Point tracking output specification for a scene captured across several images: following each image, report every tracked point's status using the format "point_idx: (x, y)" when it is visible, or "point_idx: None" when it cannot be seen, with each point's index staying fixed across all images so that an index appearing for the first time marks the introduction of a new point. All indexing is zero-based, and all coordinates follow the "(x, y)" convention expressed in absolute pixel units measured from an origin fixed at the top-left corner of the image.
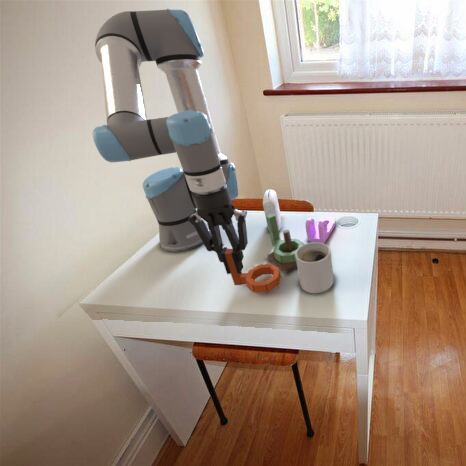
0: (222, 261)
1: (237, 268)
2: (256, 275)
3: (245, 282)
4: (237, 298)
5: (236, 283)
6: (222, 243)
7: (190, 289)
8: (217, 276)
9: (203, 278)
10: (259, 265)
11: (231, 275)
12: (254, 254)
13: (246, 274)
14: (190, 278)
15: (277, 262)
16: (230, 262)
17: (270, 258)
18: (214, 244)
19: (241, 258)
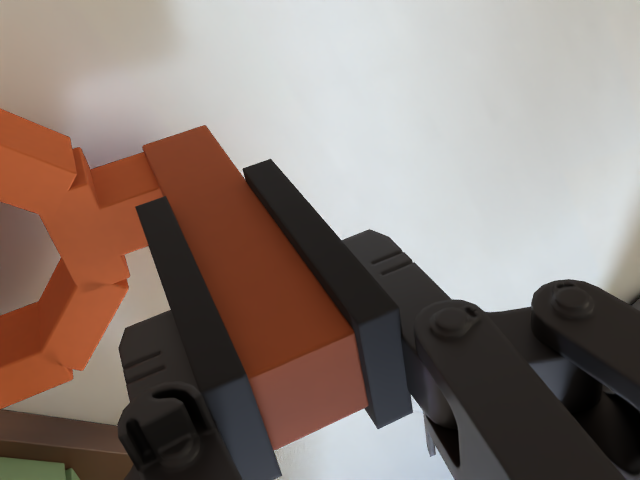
0: (352, 242)
1: (164, 234)
2: (62, 270)
3: (111, 170)
4: (111, 12)
5: (189, 138)
6: (445, 461)
7: (518, 23)
8: (399, 185)
9: (477, 142)
10: (73, 364)
11: (234, 167)
12: None
13: (116, 234)
14: (553, 118)
15: (12, 443)
16: (254, 263)
17: (108, 446)
18: (546, 411)
19: (124, 360)
